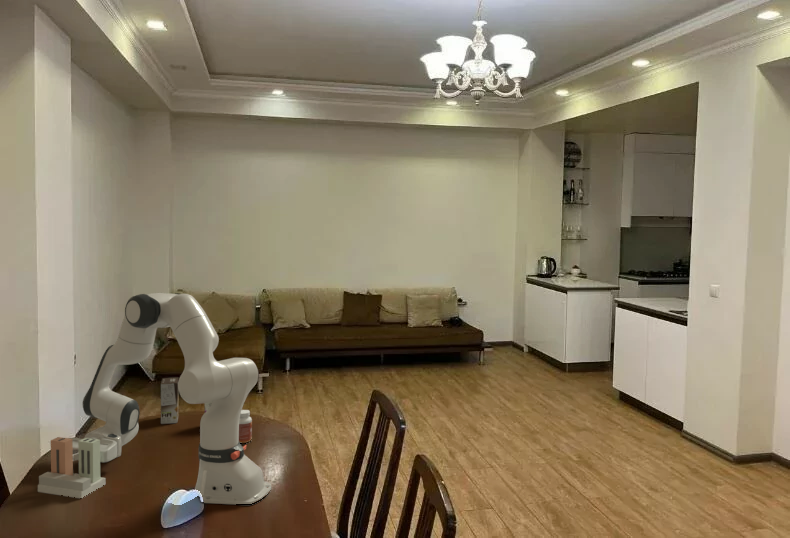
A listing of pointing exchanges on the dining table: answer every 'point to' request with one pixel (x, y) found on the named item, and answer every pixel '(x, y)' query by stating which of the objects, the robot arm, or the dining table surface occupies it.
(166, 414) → the coffee box
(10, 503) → the dining table surface
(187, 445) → the dining table surface
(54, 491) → the tile board
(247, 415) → the pill bottle
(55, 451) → the orange-brown upright block
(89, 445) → the pale green tall block
